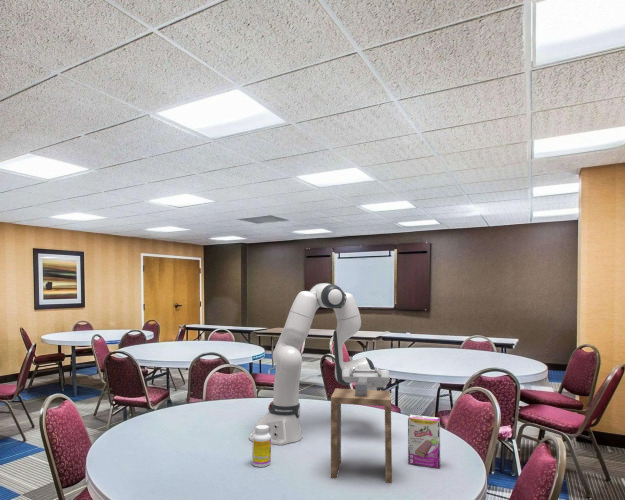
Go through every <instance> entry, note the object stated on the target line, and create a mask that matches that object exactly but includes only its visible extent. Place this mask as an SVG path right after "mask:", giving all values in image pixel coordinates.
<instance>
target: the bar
mask: <svg viewBox="0 0 625 500" xmlns="http://www.w3.org/2000/svg"><path fill="white" fill-rule="evenodd" d="M354 385H355V386H354V389H355V396H359V397H367V385H368V380H367V377H360V378H359V381H358V382H356V383H354Z"/></svg>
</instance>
